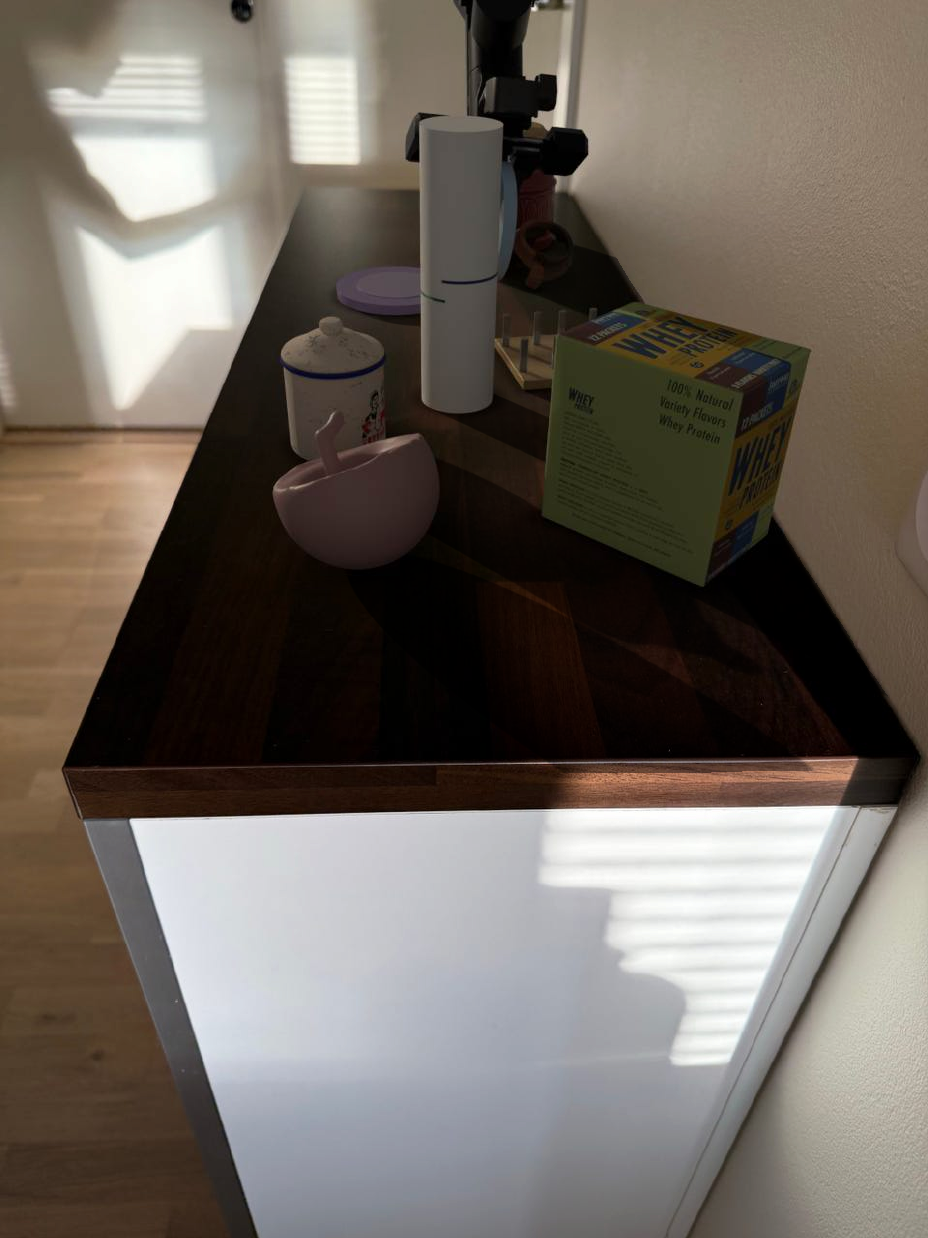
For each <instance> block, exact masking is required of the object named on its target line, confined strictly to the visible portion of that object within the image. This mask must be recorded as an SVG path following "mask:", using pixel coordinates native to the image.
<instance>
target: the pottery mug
mask: <svg viewBox="0 0 928 1238" xmlns="http://www.w3.org/2000/svg"><path fill="white" fill-rule="evenodd" d="M547 230H548V231H550V232H551V233H552V234H553V236H554V239H555V241H557V242H558V243H559V242H560V243H562V244H564V246H565V252H564V253H562V254H561V255H557V256H547V255H546V254H545V253H544V252H542V251H540V250H538V251H537V250H536V249H534V248H532V247H533V244H534V242H535V241H536V239H537V237H542V236H544V235H545V234H546V233H547ZM573 251H574V240H573V239H572V237H571V235H570V234H569V232H568V231H567V230H566V229H565V228H564V227H562V225H560V224H558V223H556V222H555V221H553V222H550V221H548V220H543V219H532V220H529V221H527V222H525V223H524V224H523V225H522V226H521V228H519V229H517V230H516V232H515V239H514V245H513V250H512V255H511V259H510V262H509V265H508V268H507V271H508V270H509V269H510V268H512V267H514V266H517V265H525V266H526V267H527V268H528V269H530V270H529V273H528V276H527V277H526V279H525V282H524V283H525V286H527V287H528V288H530V289H531V290H537V288H538V287H540V286H541V285H542V282H543V283H548V282H550V281H552V280H555V279H557V278H559V277H561V276H563V275H564V274H566V273H567V272H568V269H570V268H571V267H572V264H573V259H574V255H573Z"/></svg>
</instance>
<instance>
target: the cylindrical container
mask: <svg viewBox="0 0 928 1238" xmlns="http://www.w3.org/2000/svg"><path fill="white" fill-rule="evenodd" d="M419 140H420V163H419V246H420V247H419V248H420V249H419V254H420V255H419V259H420V260H419V262H420V267H419V268H421V314H420V341H421V342H420V355H421V356H420V358H421V359H420V361H421V363H420V364H421V365H420V369H421V372H420V374H421V375H420V378H421V379H420V380H421V381H420V382H421V383H420V384H421V401H422V404H424V405H425V406H426V407H428V408H430V409H432V410H435V411H438V412H442V413H446V414H470V413H475V412H478V411H482V410H484V409H486V408H488V407H489V406H490V405H491V404H492V402H493V398H494V378H495V377H494V375H495V374H494V373H495V350H496V348H495V338H496V324H497V323H496V322H497V295H498V294H497V293H498V282H497V270H498V247H499V220H500V194H501V168H502V142H503V123H502V122H500V121H497V120H494V119H490V118H484V117H476V116H466V115H449V116H439V117H432V118H427V119H424V120H422V121H420V122H419Z"/></svg>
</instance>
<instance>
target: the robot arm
mask: <svg viewBox="0 0 928 1238" xmlns="http://www.w3.org/2000/svg"><path fill="white" fill-rule="evenodd" d="M452 1H453V2H452V3H453V4H454V6H455V8H456V9H457V11H458V12H459V14H460V16H461V17H462V20H463V21H464V37H465V38H464V39H465V40H464V41H465V43H464V45H465V47H464V48H465V49H464V50H465V52H464V53H465V54H464V55H465V58H464V59H465V60H464V61H465V116H476V117H484V118H490V119H494V120H497V121H500V122H502V123H503V142H502V160H503V161H509V162H510V163H511V165H512V167H513V169H514V173H515V178H516V185H517V203H518V195H519V191H520V188H521V185H522V183H523V181H524V180H526V179H529V178H530V176H531V175H532V174H533V172H534V171H535V169H536V168H537V167H538V168H539V170H540V171H541V172H542V173H543V174H545V175H554V177H569V176H572V175H574V173H575V172H576V171H577V169H579V167H580V165H582V163H583V162H584V161H585V160H586V159H587V157H588V156H589V138H588V137H587V135H586V133H585V132H584V130H583V129H581V128H572V127H563V126H551V127H550V129H549V130H548V131H549V132H548V133H547V135H546V136H545V137H544V139H540V138H530V137H524V132H523V130H529V128H530V127H531V125H532V122H533V118H534V119H537V118H539V112H546V113H548V112H552V111H554V110H555V109H556V106H557V102H558V101H557V100H558V78H557V77H558V76H557V75H556V74H550V73H549V74H548V73H539V74H537V75H535V77H534V80H533V79H527V76H526V75H524V57H523V55H524V53H523V52H524V51H523V45H524V44H523V43H524V42H525V39H526V37H527V32H528V26H529V21H530V16H531V11H532V8H535V4H536V3H535V2H539V1H541V0H452ZM439 116H450V115H448V114H438V113H430V112H429V113H428V112H421V111H418V112H417V113H416V115H415V116H414V117H413V118H412V120H411V122H410V125H409V128H408V130H407V133H406V135H405V146H404V148H405V149H404V150H405V151H404V152H405V153H404V155H405V160H406V161H408V162H409V163H419V164H420V140H419V122H420V121H422V120H424V119H427V118H432V117H439Z"/></svg>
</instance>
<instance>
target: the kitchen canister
mask: <svg viewBox="0 0 928 1238" xmlns="http://www.w3.org/2000/svg"><path fill="white" fill-rule="evenodd" d="M523 132H524V137H530V138H540V139H544V137H545V136H546V135H547V133H548V132H549V130H548V129H547V128H546V127H545V126H544V125H543V124H542V123H539V122H537V121H532V125H531V127H530V128H529V130H523ZM557 184H558V180H557V178H556V176H555V175H545V174H543V173H542V172H541V171H540V170H539V168H538V167H537V168H536V169H535V171H534V172H533V174H532V175H531V176H530V178H529V179H526V180H524V181H523V183H522V185H521V188H520V191H519V195H518V203H517V222H516V230H517V229H519V228H521V226H522V225H523V224H524V223H525V222H527V221H529V220H532V219H543V220H548V221H550V222H554V216H555V215H554V212H555V199H556V186H557ZM553 236H554V235H553V234H552V233H551V232H550V231H548V230H547V233H546V234H545V235H544V236H542V237H537V239H536V241H535V242H534V244H533V247H532V248H534V249H536V250H537V251H541V250H544V249H546V248H548V247H549V246H550V245H551V244H552V238H553Z"/></svg>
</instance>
